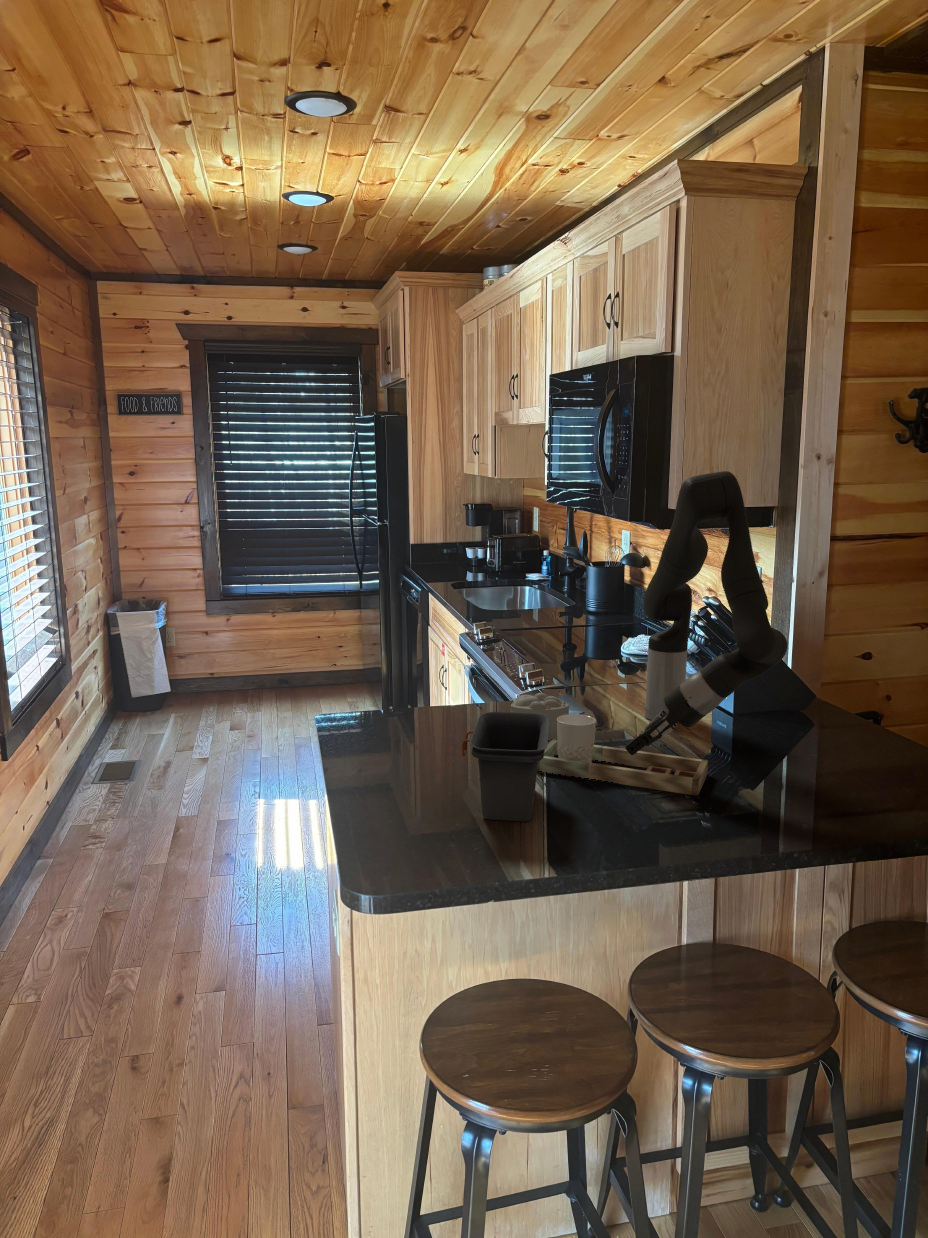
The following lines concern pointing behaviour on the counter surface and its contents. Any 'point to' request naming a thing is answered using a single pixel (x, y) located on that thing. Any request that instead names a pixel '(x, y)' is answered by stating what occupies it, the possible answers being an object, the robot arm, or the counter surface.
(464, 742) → the storage bin
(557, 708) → the lumpy-topped squat cylinder
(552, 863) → the counter surface
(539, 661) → the counter surface
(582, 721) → the white cup
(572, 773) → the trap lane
